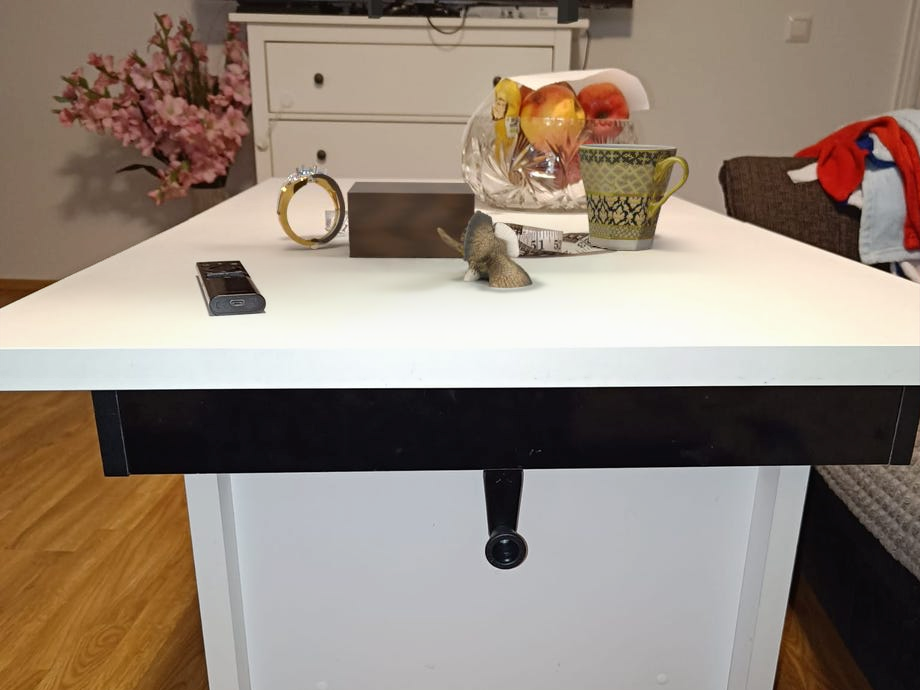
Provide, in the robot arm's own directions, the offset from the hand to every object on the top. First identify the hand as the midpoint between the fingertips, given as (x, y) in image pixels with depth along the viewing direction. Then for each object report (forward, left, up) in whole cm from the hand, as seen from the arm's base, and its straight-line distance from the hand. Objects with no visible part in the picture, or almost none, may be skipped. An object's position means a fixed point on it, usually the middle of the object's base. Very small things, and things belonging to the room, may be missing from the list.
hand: (473, 20), depth 65 cm
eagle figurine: (+1, +1, -20) cm, 20 cm away
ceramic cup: (+18, +27, -20) cm, 38 cm away
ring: (-15, +25, -20) cm, 35 cm away
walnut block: (-5, +25, -19) cm, 32 cm away
